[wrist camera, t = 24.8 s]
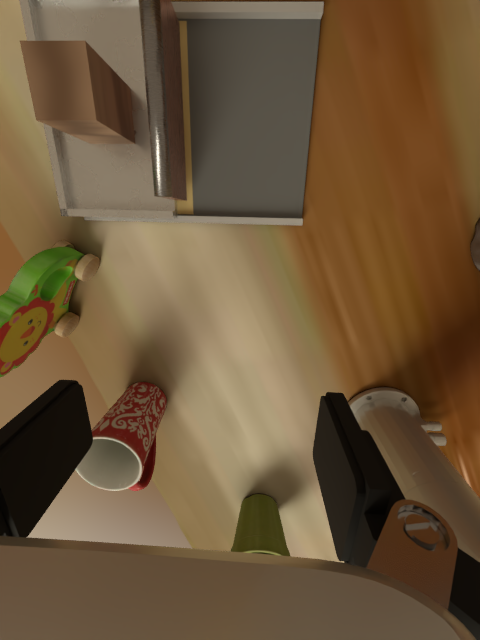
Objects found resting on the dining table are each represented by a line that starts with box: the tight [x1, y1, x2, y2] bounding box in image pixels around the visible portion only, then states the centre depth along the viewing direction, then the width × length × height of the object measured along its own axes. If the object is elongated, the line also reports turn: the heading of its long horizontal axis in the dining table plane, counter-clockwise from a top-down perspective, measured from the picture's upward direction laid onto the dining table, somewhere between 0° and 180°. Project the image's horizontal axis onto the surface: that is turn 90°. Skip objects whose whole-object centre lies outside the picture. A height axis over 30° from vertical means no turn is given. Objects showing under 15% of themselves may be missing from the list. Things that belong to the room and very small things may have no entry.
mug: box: [75, 382, 167, 491], centre depth 42 cm, size 13×9×14 cm
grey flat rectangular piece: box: [84, 2, 324, 225], centre depth 32 cm, size 28×21×2 cm
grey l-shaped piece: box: [19, 0, 187, 219], centre depth 27 cm, size 14×20×11 cm
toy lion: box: [0, 240, 100, 377], centre depth 34 cm, size 16×5×15 cm, turn 150°
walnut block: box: [20, 41, 135, 144], centre depth 25 cm, size 5×5×8 cm
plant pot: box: [231, 494, 290, 556], centre depth 50 cm, size 12×12×11 cm
